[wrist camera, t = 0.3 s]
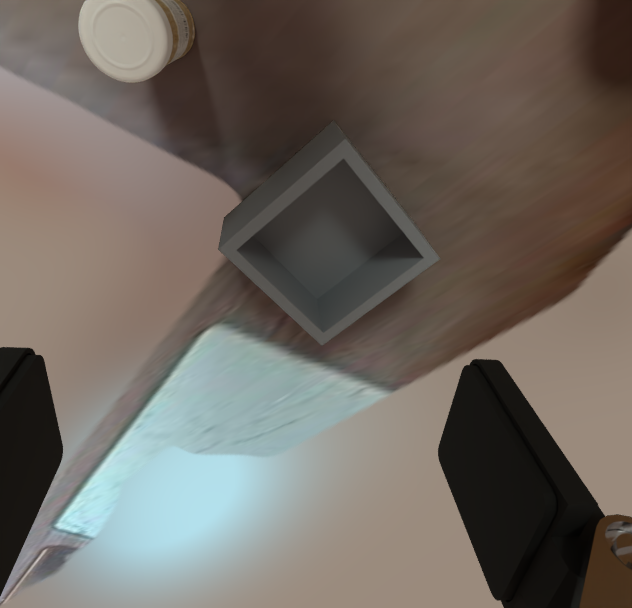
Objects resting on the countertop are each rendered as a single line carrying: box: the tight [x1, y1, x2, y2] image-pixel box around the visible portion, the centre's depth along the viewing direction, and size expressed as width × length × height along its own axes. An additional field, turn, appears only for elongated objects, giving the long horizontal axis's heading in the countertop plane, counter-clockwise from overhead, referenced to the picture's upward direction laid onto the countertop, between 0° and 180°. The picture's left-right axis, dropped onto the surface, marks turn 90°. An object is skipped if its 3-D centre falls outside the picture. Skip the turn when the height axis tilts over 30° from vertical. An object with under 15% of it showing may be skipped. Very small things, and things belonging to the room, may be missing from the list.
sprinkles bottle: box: [78, 0, 195, 83], centre depth 31 cm, size 5×5×13 cm
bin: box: [218, 120, 440, 346], centre depth 43 cm, size 13×13×7 cm
